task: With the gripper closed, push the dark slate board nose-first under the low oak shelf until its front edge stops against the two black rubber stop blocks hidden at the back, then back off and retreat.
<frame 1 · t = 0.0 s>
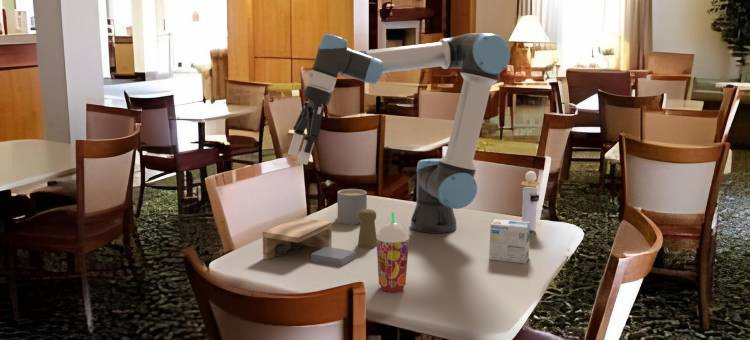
hand: (297, 159, 207), 28 cm above the table, tool tilted 20°, fingers open, 13 cm apart
coffee mug: (351, 219, 250), on the table
cork: (367, 245, 220), on the table
smoothie: (392, 289, 184), on the table
light bulb box: (508, 259, 208), on the table
perfume bottle: (528, 231, 237), on the table
slate board: (333, 261, 206), on the table
oak shelf: (298, 253, 211), on the table
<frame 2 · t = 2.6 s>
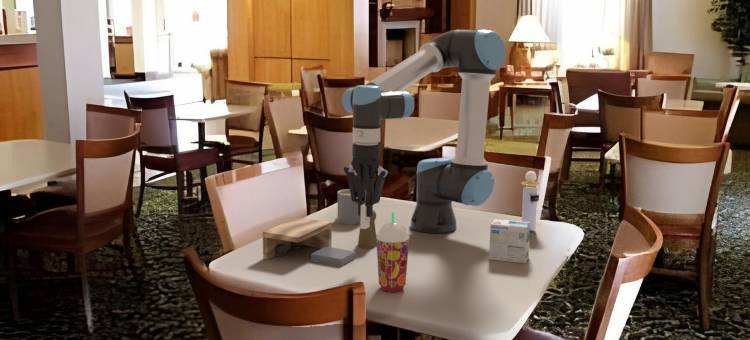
hand: (365, 227, 199), 11 cm above the table, tool pointing down, fingers closed
nothing on the table moved.
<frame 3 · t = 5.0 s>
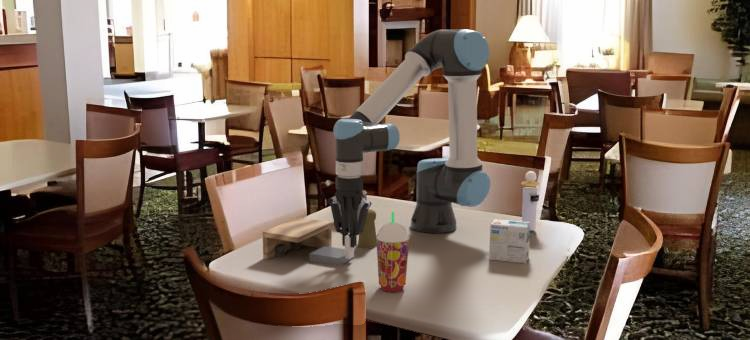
hand: (349, 257, 203), 1 cm above the table, tool pointing down, fingers closed
nothing on the table moved.
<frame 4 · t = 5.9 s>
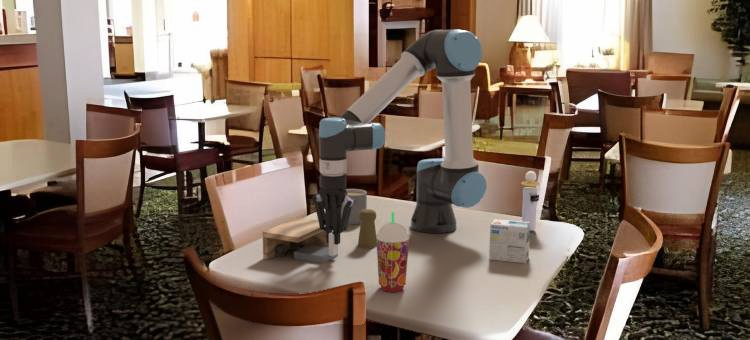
hand: (333, 254, 206), 1 cm above the table, tool pointing down, fingers closed
slate board: (316, 258, 208), on the table, touching gripper
everything else where it was.
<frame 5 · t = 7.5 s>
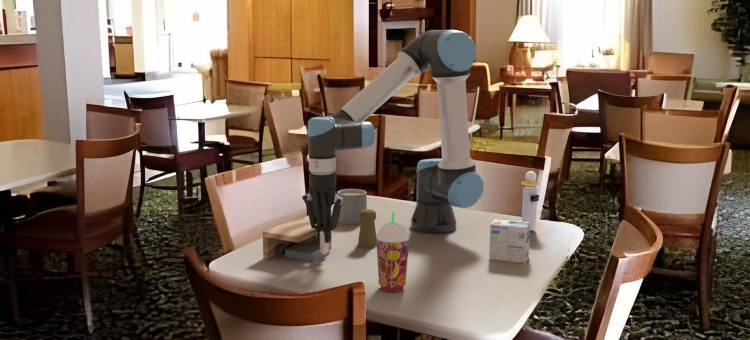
hand: (324, 252, 207), 2 cm above the table, tool pointing down, fingers closed
slate board: (307, 256, 210), on the table
everything else where it was.
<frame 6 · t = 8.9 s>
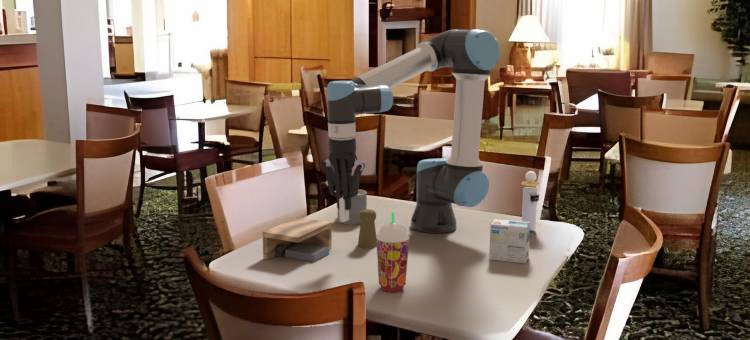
hand: (344, 220, 203), 12 cm above the table, tool pointing down, fingers closed
nothing on the table moved.
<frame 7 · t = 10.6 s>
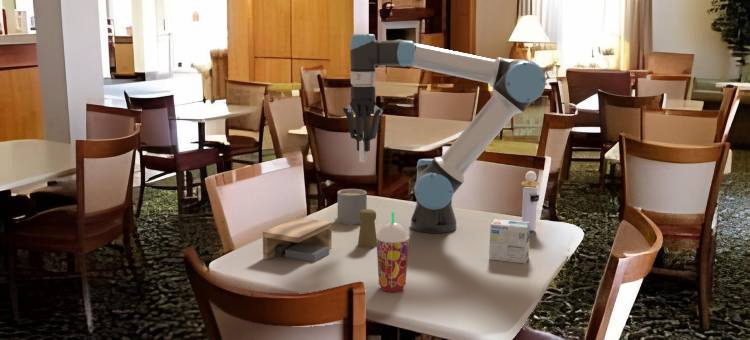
hand: (363, 161, 224), 24 cm above the table, tool pointing down, fingers closed
nothing on the table moved.
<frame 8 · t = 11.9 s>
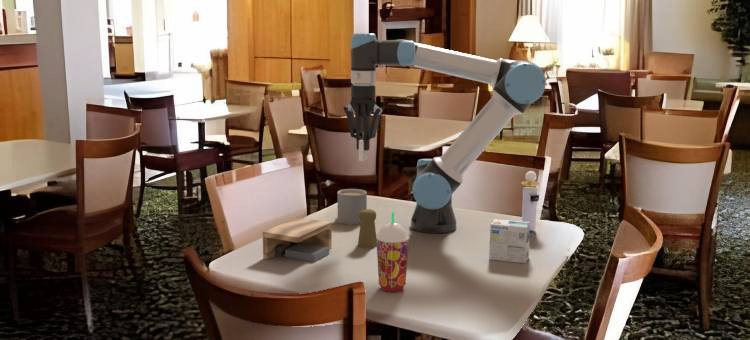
hand: (362, 160, 225), 24 cm above the table, tool pointing down, fingers closed
nothing on the table moved.
at the end: slate board 1.4 cm from the target spot, on the table; slate board tilted 0° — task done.
